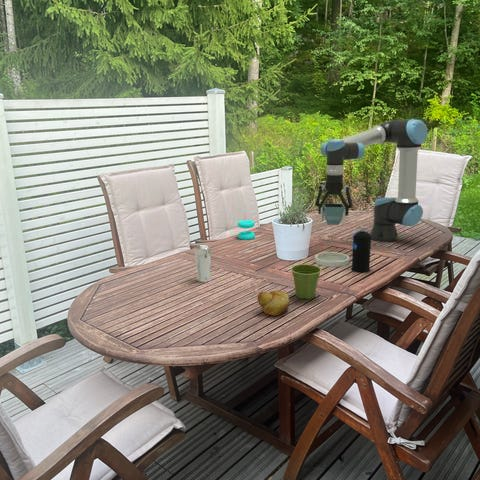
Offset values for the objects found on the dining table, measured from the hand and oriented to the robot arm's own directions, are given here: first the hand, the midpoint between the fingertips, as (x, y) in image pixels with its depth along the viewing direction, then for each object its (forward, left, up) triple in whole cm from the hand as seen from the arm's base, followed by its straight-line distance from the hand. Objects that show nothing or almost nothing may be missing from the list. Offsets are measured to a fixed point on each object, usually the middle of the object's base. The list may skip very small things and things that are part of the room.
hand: (333, 221), depth 207 cm
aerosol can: (-8, +14, -20) cm, 26 cm away
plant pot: (+26, +37, -20) cm, 50 cm away
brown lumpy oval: (+40, +47, -20) cm, 65 cm away
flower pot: (0, 0, -1) cm, 1 cm away
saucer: (0, 0, -20) cm, 20 cm away
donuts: (+31, -53, -20) cm, 64 cm away
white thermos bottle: (+63, +9, -20) cm, 67 cm away
